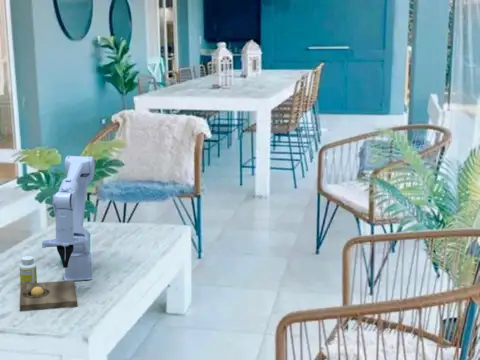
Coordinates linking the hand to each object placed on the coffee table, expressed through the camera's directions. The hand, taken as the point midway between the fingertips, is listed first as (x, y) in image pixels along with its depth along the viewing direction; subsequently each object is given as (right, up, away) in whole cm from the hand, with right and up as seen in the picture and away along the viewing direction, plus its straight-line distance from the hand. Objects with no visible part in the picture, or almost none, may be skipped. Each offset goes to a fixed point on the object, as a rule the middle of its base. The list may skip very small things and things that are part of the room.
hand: (65, 266), depth 219 cm
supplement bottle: (-15, -7, +8) cm, 18 cm away
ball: (-8, -8, -4) cm, 12 cm away
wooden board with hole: (-5, -10, -2) cm, 11 cm away
